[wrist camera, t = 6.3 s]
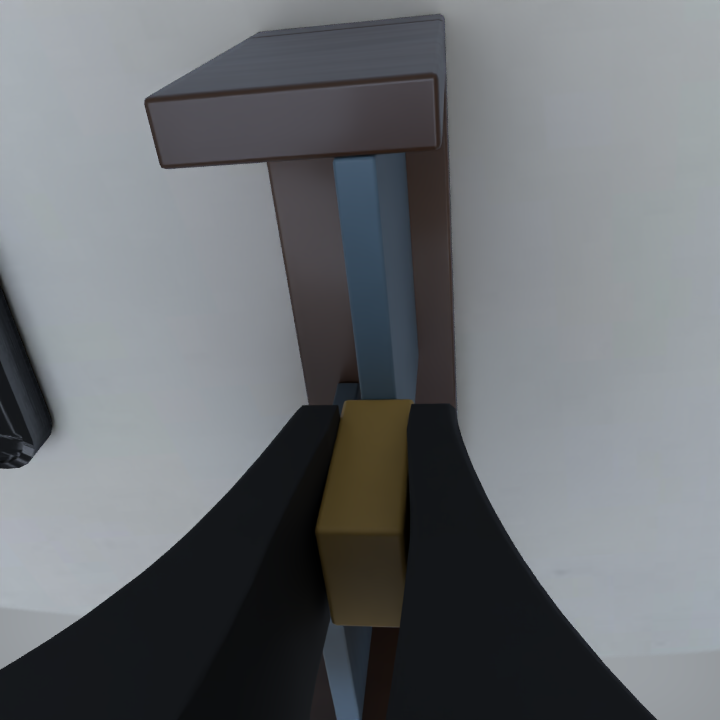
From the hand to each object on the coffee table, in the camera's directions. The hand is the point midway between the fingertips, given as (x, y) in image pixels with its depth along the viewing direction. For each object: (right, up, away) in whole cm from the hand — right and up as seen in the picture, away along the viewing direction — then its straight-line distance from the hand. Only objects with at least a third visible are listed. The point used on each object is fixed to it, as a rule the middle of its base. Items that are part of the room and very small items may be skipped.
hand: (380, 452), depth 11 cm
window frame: (0, +2, +7) cm, 7 cm away
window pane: (+1, +4, +4) cm, 6 cm away
